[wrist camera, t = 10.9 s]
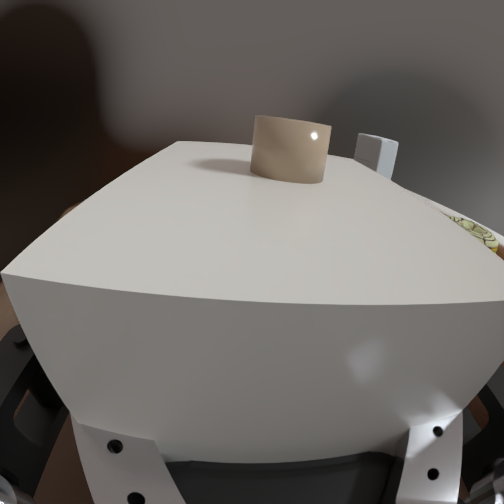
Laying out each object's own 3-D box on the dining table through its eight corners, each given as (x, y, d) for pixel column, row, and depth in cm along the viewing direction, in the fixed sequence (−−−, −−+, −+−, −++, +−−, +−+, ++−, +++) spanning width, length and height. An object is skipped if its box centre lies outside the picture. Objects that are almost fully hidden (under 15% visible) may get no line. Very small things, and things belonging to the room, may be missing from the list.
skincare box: (361, 205, 46) (375, 135, 40) (383, 215, 43) (399, 142, 37) (341, 209, 42) (355, 131, 37) (365, 220, 39) (382, 138, 34)
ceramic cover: (182, 348, 15) (180, 109, 9) (303, 353, 15) (357, 129, 10) (158, 509, 7) (-25, 146, 1) (334, 508, 7) (572, 222, 2)
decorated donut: (450, 229, 43) (456, 210, 41) (497, 257, 35) (504, 237, 33) (428, 236, 38) (435, 213, 36) (483, 269, 30) (493, 245, 28)
